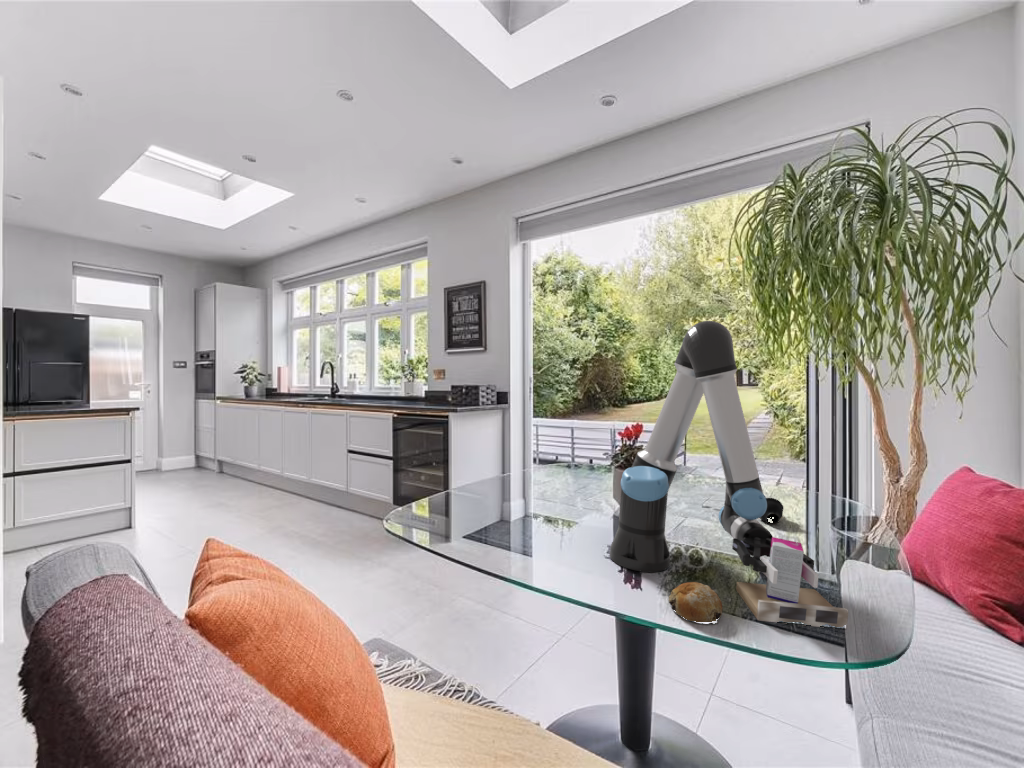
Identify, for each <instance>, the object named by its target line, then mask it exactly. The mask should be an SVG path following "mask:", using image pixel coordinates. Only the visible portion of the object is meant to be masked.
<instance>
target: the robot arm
mask: <svg viewBox="0 0 1024 768" xmlns="http://www.w3.org/2000/svg"><path fill="white" fill-rule="evenodd" d="M734 353H735V352H734V343H733V337H732V334H731V332H730V330H729V329H728V328H727V327H726V326H725V325H724V324H722V323H720V322H718V321H713V320H702V321H700V322H698V323H696V324H693V325H692V326H691V327H690V328H689V329H688V330H687V332H686V333H685V335H684V338H683V340H682V343H681V346H680V348H679V351H678V353H677V355H676V358H675V361H674V363H673V365H674V367H675V369H676V374H675V375H674V377H673V381H672V382H671V385H670V387H669V390H668V392H667V395H666V398H665V399H664V402H663V405H662V407H661V410H660V412H659V414H658V417H657V419H656V421H655V423H654V426H653V428H652V431H651V434H650V436H649V438H648V441H647V443H646V446H645V448H644V449H643V450H642V449H641V450H639V451H638V452H637V453H636V456H635V458H634V460H633V463H632V465H631V467H628V468H626V469H624V471H623V472H622V475H621V479H620V502H619V514H618V517H619V518H618V528H617V530H616V532H615V535H614V537H613V540H612V542H611V545H610V547H609V548H610V549H609V557H610V559H611V560H612V562H614V563H615V564H616V565H618V566H621V567H622V568H626V569H628V570H632V571H636V572H642V573H657V572H663V571H665V570H667V569H668V568H669V567H670V565H671V564H670V563H671V562H670V561H671V554H670V551H669V550H670V549H669V546H668V542H667V538H666V533H665V532H666V519H667V504H668V496H669V495H668V494H669V490H670V488H671V485H672V483H673V481H674V479H675V477H676V476H675V475H676V473H677V472H678V468H677V465H676V462H675V461H676V459H677V456H678V454H679V451H680V450H681V447H682V445H683V442H684V440H685V438H686V436H687V433H688V431H689V428H690V426H691V424H692V421H693V419H694V417H695V414H696V412H697V410H698V408H699V404H700V402H701V400H702V398H703V396H704V398H705V403H706V407H707V410H708V416H709V420H710V423H711V428H712V430H713V435H714V440H715V444H716V447H717V451H718V454H719V459H720V463H721V466H722V470H723V476H724V479H725V496H724V502H723V503H724V504H723V506H722V507H721V508H720V511H718V521H719V523H720V525H721V527H722V528H723V530H724V531H725V532H727V533H728V534H729V536H731V538H733V539H732V547H731V548H732V550H733V551H734V552H736V553H737V556H738V557H739V559H740V561H741V562H742V564H743V566H746V567H750V566H752V571H754V572H760V573H763V574H764V576H766V579H767V578H768V579H769V580H770V581H771V582H772V583H773V584H777V576H778V571H777V570H776V569H775V568H774V567H773V565H772V564H771V563H770V562H769V560H768V559H767V558H766V557H768V558H770V551H771V542H772V537H774V536H773V534H772V533H771V531H769V530H768V529H767V528H766V527H765V526H764V525H763V524H762V523H761V522H759V521H758V520H757V519H760V517H761V516H763V515H764V514H765V512H766V509H767V502H766V498H767V497H766V495H764V494H765V493H764V492H763V488H762V484H761V480H760V476H759V470H758V468H757V463H756V459H755V456H754V452H753V448H752V443H751V440H750V435H749V432H748V427H747V423H746V419H745V414H744V411H743V407H742V402H741V399H740V395H739V390H738V388H737V384H736V378H735V374H736V372H737V371H738V368H737V363H736V359H735V354H734ZM764 556H766V557H764ZM801 578H803V580H805V581H806V582H807V583H809V585H810V586H811V587H812V588H813V589H814V588H815V589H816V588H817V589H818V585H819V573H817V572H816V571H815V560H814V559H813V558H811V557H810V556H808V555H807V554H805V553H804V554H803V563H802V572H801Z"/></svg>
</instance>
